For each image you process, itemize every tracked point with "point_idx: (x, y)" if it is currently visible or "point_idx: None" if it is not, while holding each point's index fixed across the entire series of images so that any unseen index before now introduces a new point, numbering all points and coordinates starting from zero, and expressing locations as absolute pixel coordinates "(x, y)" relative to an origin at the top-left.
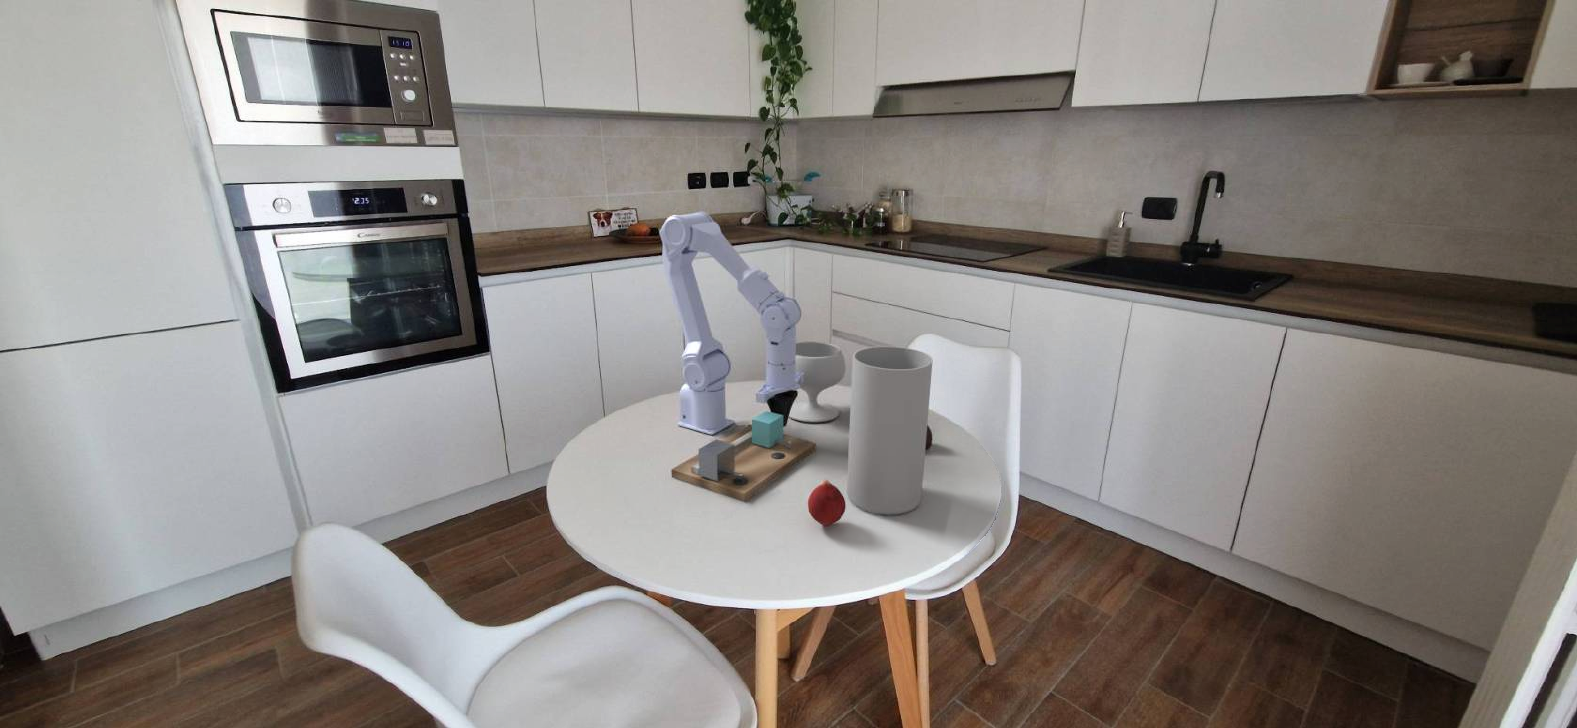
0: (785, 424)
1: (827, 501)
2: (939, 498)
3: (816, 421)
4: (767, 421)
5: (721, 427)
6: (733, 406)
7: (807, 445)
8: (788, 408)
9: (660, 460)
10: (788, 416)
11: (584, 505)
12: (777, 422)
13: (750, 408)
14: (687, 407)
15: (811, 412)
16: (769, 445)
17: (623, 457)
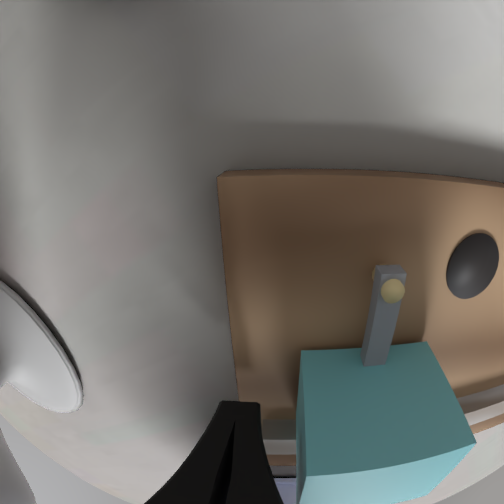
0: (233, 408)
1: None
2: None
3: (33, 315)
4: (443, 464)
5: (288, 483)
6: (156, 484)
7: (286, 200)
8: (212, 496)
9: (475, 446)
10: (206, 440)
11: None
12: (383, 444)
13: (132, 465)
14: None
15: (21, 352)
16: (428, 348)
17: (467, 470)
